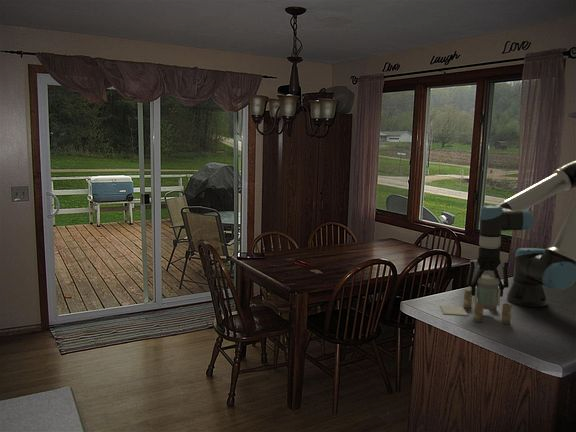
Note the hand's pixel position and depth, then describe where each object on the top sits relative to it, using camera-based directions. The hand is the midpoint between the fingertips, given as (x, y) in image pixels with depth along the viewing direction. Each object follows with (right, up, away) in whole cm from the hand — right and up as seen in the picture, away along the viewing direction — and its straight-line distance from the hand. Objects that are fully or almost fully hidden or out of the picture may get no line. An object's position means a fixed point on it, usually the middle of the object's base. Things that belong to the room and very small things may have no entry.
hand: (486, 304), depth 186 cm
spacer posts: (-1, -4, +1) cm, 4 cm away
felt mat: (-11, -4, +4) cm, 13 cm away
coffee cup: (0, -1, 0) cm, 1 cm away
